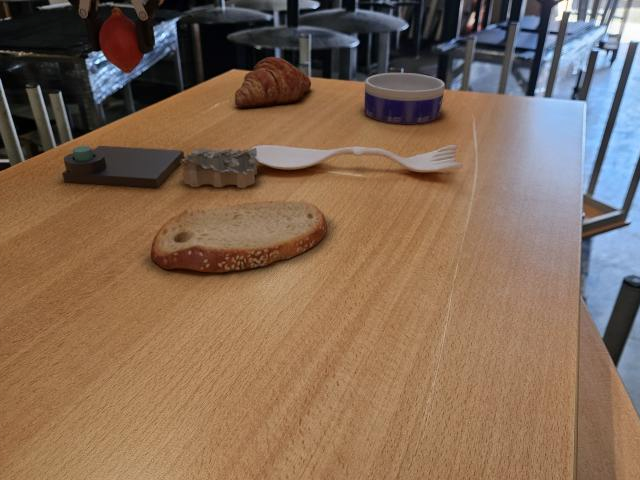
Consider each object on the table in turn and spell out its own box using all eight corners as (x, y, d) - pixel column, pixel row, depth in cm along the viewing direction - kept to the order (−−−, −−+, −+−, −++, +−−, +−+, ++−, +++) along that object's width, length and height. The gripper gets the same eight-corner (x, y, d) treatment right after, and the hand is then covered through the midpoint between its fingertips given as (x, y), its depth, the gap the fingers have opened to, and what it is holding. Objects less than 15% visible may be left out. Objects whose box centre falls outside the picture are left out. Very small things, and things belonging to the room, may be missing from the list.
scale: (61, 182, 83) (56, 162, 81) (99, 154, 93) (95, 135, 91) (156, 188, 81) (153, 168, 80) (184, 159, 91) (182, 140, 89)
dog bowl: (374, 99, 121) (376, 69, 118) (446, 107, 118) (450, 75, 114) (354, 119, 110) (356, 86, 106) (434, 128, 106) (438, 94, 102)
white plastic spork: (460, 185, 84) (464, 162, 82) (245, 175, 86) (243, 153, 84) (454, 163, 91) (457, 142, 89) (256, 155, 93) (255, 133, 91)
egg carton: (179, 187, 82) (175, 159, 80) (192, 168, 88) (188, 142, 86) (253, 189, 81) (251, 161, 79) (261, 170, 88) (259, 143, 85)
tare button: (71, 162, 82) (69, 151, 81) (80, 155, 84) (77, 145, 83) (88, 163, 82) (86, 152, 81) (97, 156, 84) (94, 146, 83)
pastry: (310, 110, 114) (310, 67, 110) (233, 109, 114) (230, 66, 109) (311, 89, 128) (311, 50, 123) (242, 88, 128) (239, 49, 123)
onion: (104, 69, 80) (91, 4, 75) (146, 67, 82) (136, 3, 77) (106, 79, 76) (93, 11, 71) (151, 76, 77) (141, 9, 73)
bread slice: (335, 220, 74) (336, 193, 72) (288, 292, 60) (288, 260, 58) (208, 202, 78) (205, 176, 76) (137, 265, 64) (130, 235, 62)
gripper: (6, -121, 64) (49, 53, 75) (153, -119, 63) (176, 59, 73) (41, -118, 70) (76, 43, 81) (177, -116, 69) (194, 48, 79)
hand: (123, 49), depth 77 cm, fingers closed on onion, 5 cm apart
